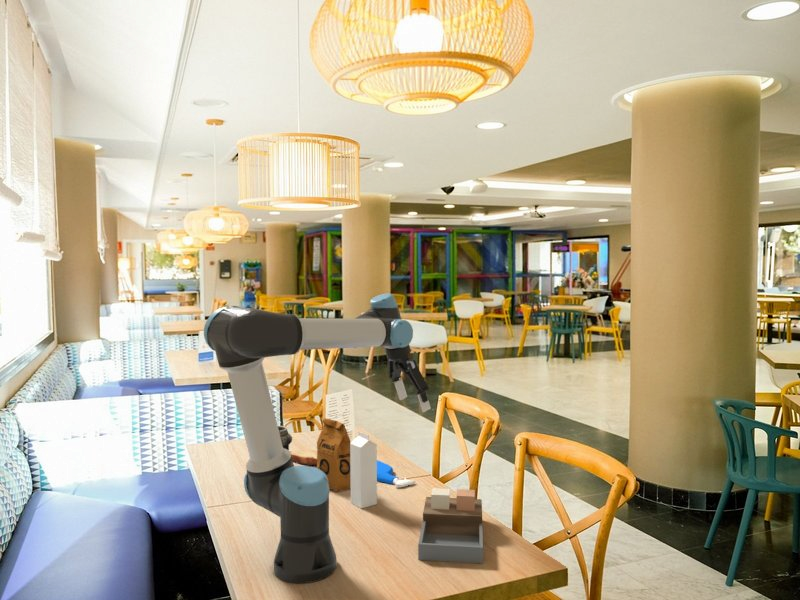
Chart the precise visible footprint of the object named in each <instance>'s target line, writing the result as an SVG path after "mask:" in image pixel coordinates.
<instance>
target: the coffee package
mask: <svg viewBox="0 0 800 600" xmlns="http://www.w3.org/2000/svg"><path fill="white" fill-rule="evenodd" d="M321 422H322V424H323V427H322V429H321V430H320V434H319V436H318V438H317V441H316V451H317V466H316V468H318V469H320V470H321V471H323V472H324V473H325V474H326V476H327V478H328V484H329V489H331V490H334V491H335V492H341V491H346V490H350V489H351V479H350V443H351V442H352V441H351V438H350V437H349V434H348V431H347V429H346V426H345V424H344V423H342V422H340V421H338V420H334V419H330V418H327V417H325V418H323V420H322V421H321Z"/></svg>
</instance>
